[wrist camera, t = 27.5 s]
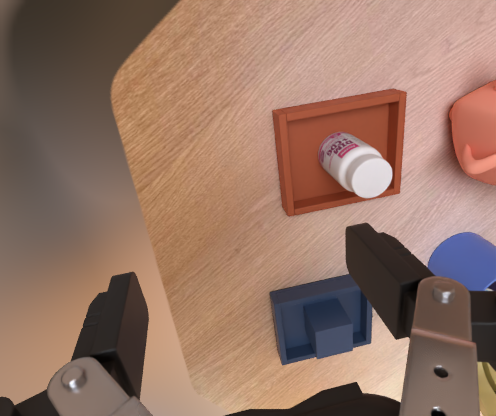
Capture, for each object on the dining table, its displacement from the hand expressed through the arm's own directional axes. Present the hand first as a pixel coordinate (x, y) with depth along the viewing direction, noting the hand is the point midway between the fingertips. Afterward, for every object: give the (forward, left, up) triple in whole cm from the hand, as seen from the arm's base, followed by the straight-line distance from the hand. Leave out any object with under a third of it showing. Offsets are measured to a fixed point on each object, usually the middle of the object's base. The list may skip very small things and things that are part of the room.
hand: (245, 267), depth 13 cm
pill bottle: (+14, -6, -26) cm, 30 cm away
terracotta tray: (+14, -6, -26) cm, 30 cm away
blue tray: (+11, -30, -26) cm, 41 cm away
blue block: (+11, -30, -26) cm, 41 cm away
